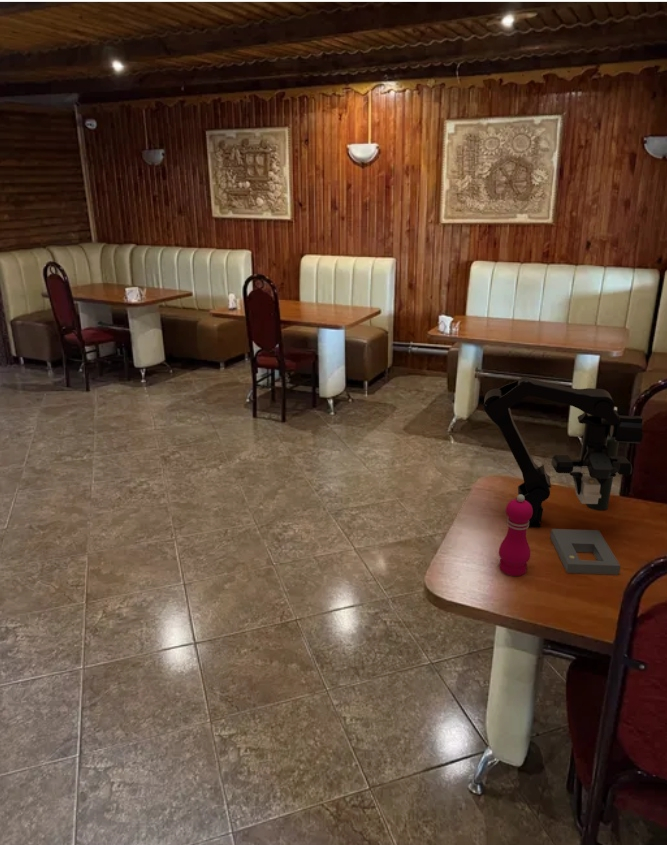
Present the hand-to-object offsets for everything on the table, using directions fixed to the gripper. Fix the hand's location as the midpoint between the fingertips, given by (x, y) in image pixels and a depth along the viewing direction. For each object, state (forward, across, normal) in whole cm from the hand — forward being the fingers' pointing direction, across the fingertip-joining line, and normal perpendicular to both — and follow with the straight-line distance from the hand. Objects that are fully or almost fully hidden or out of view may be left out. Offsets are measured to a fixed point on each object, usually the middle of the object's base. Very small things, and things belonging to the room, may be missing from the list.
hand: (586, 494), depth 165 cm
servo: (+1, 0, 0) cm, 1 cm away
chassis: (+10, -4, -14) cm, 17 cm away
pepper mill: (+10, -22, -20) cm, 32 cm away
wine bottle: (+10, +8, +12) cm, 18 cm away
